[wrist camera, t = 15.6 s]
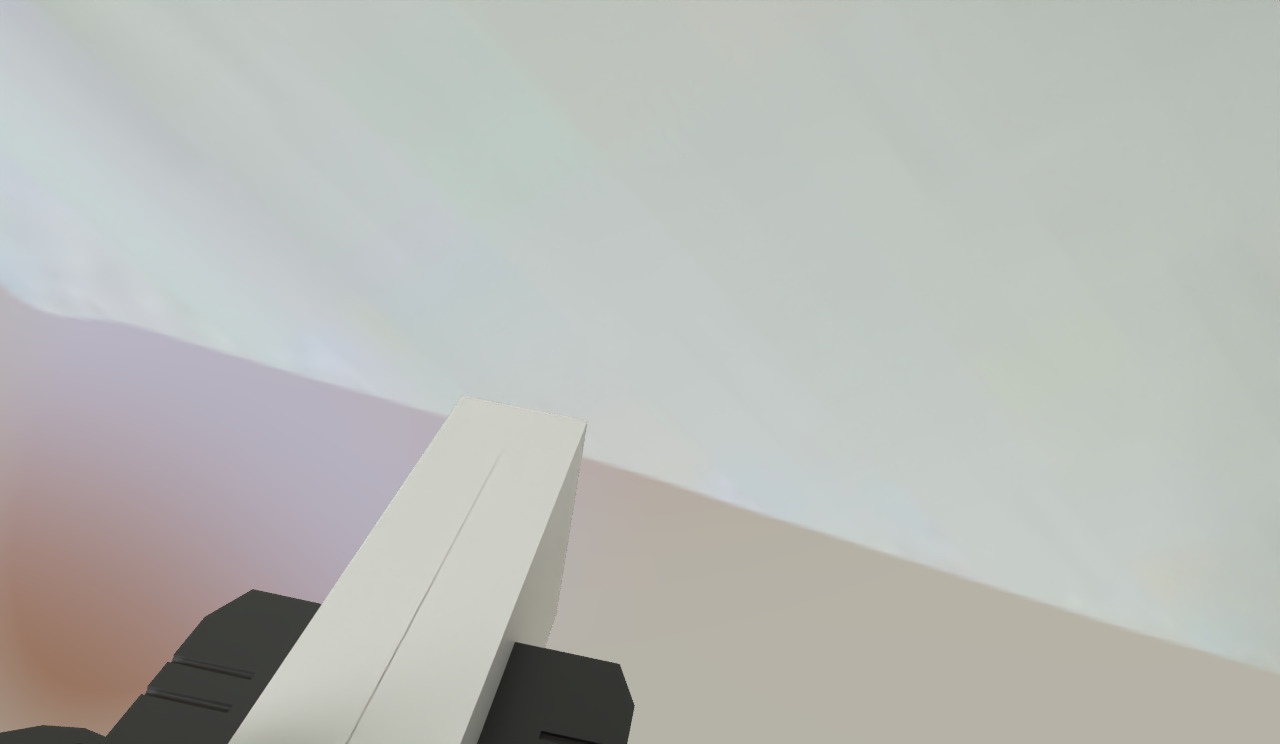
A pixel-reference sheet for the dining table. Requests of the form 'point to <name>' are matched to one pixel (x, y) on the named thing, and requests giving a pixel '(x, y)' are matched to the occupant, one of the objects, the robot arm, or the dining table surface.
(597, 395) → the dining table surface
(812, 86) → the dining table surface
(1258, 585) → the dining table surface
